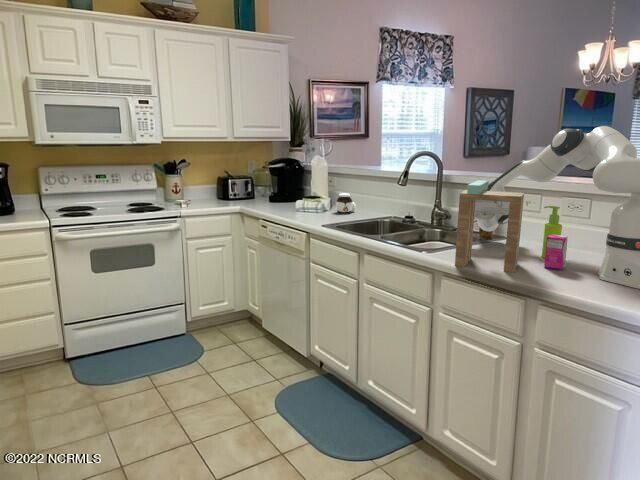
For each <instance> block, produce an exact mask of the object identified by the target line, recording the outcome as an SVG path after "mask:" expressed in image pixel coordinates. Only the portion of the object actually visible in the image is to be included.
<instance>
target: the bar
mask: <svg viewBox="0 0 640 480" xmlns="http://www.w3.org/2000/svg"><path fill="white" fill-rule="evenodd" d="M489 183H490V182H489V180H479V179H477V180H475V181H473V182H471V183H468V184H467V188H466V190H467V194H480V193H482V192H483V191H485V190H487V189H488V184H489Z"/></svg>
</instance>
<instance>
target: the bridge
mask: <svg viewBox="0 0 640 480" xmlns="http://www.w3.org/2000/svg"><path fill="white" fill-rule="evenodd" d="M458 199H459V201H458V213H457V214H458V215H457V216H458V217H457V229H456V243H455V244H456V245H455V257H454V259H455V260H454V266H456V267H463V268H465V267H466V266H467V265H468V264H469V262H470V261H471V259H472V250H473V249H472V248H473V237H474V235H473V234H474V223H475V219H474V212H475V200H485V201H502V202H510V204H509V216H508V222H507V229H506V240H505V252H504V261H503V262H504V264H503V272H507V273H515V272H516V269H517V266H518V261H519V250H520V239H521V229H522V219H523V209H524V199H525V192H515V191H506V192H499V191H483V192H482V193H480V194H467V189H465V190H464V191H461V192H460V193H459V198H458Z"/></svg>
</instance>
